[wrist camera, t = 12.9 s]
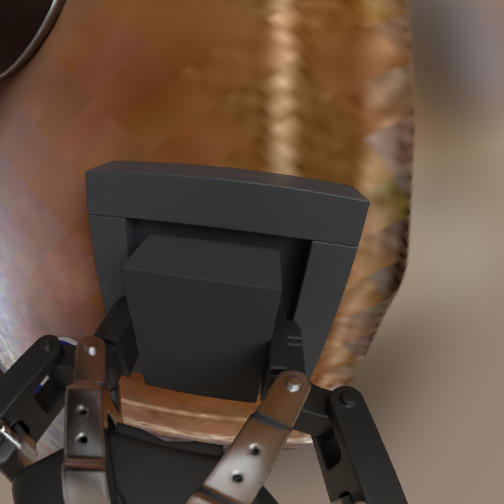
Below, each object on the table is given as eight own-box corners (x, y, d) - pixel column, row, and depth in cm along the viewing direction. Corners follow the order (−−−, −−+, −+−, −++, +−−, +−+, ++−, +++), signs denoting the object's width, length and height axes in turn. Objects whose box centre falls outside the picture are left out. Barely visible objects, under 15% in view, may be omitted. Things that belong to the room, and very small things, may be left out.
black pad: (150, 231, 12) (120, 266, 9) (279, 247, 12) (282, 289, 9) (161, 344, 15) (145, 384, 12) (258, 359, 15) (256, 403, 12)
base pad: (111, 160, 12) (84, 171, 10) (354, 186, 12) (370, 201, 10) (133, 344, 18) (121, 369, 16) (300, 369, 18) (302, 397, 16)
